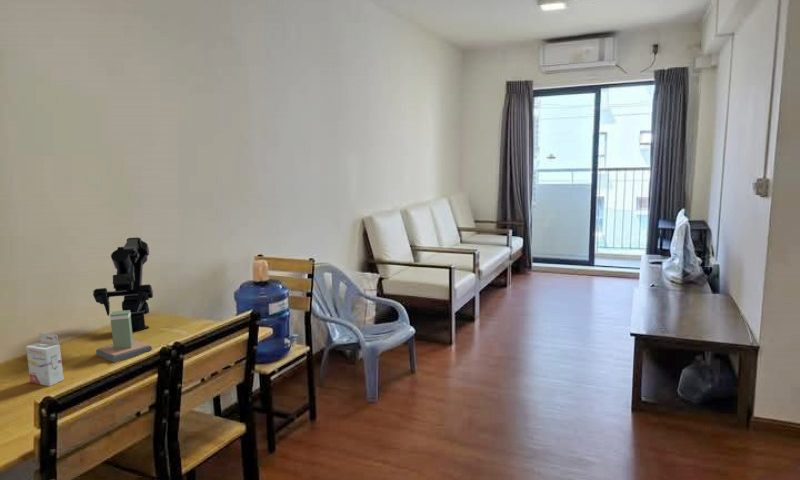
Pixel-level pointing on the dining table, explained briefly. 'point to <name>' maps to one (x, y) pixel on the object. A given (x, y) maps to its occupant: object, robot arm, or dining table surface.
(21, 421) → the dining table surface
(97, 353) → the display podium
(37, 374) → the ink cartridge box
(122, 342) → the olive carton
